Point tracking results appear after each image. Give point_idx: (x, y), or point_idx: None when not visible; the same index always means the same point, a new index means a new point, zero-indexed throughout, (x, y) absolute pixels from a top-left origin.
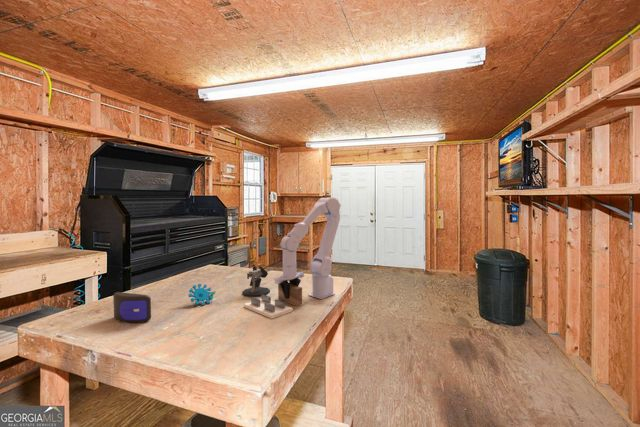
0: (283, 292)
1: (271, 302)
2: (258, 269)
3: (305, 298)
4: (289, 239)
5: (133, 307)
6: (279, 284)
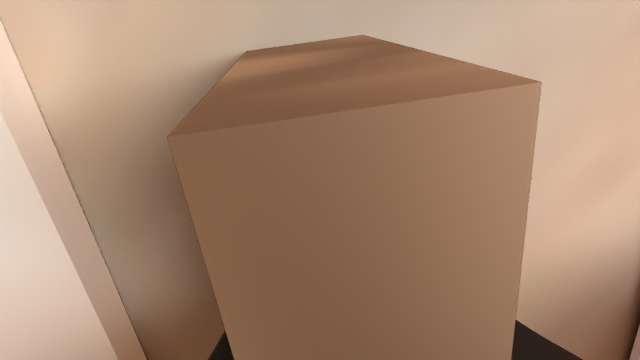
0: (219, 353)
1: (2, 258)
2: None
3: (557, 263)
4: None
5: None
6: (205, 220)
